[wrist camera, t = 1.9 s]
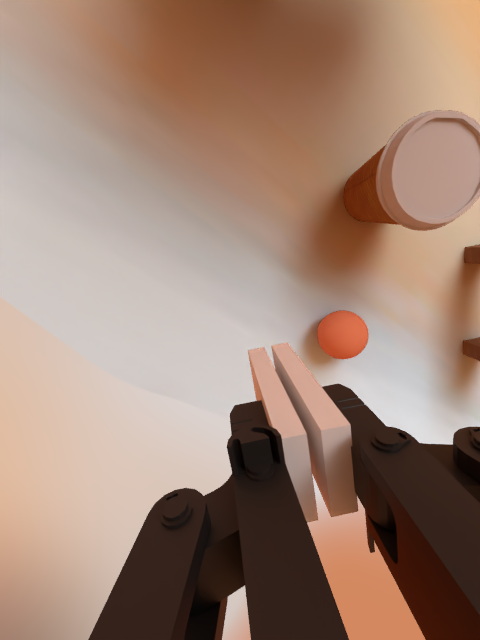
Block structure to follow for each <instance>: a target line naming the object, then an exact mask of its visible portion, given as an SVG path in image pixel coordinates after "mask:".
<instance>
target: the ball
mask: <svg viewBox="0 0 480 640" xmlns="http://www.w3.org/2000/svg"><path fill="white" fill-rule="evenodd" d="M317 338H318V342H319V344H320V346H321V348H322V349H323V350H324V351H325V352H326V353H327V354H328V355H330V356H332V357H334V358H338V359H348V358H352V357H355V356H356V355H358V354H359V353H361V352H362V350H363V349H364V348H365V346H366V344H367V341H368V329H367V326H366V324H365V322H364V321H363V320H362V319H361V318H360V317H359V316H358V315H356V314H355V313H352V312H349V311H336V312H333V313H330V314H329V315H327V316H326V317H325V318H324V319H323V320H322V321H321V323H320V325H319V327H318V331H317Z"/></svg>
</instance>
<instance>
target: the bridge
mask: <svg viewBox="0 0 480 640" xmlns="http://www.w3.org/2000/svg"><path fill="white" fill-rule="evenodd" d="M465 263H478V264H480V245H475V246H470V247H465ZM463 354H465V355H467V356H469V357H472V358H474V359H476V360H479V361H480V338H475V339H469V340H464V341H463Z"/></svg>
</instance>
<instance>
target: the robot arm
mask: <svg viewBox="0 0 480 640" xmlns="http://www.w3.org/2000/svg"><path fill="white" fill-rule="evenodd" d="M272 351H273V358H274V364H275V369H274V367H273V365H272V363H271V361H270V358H269V356H268V354H267V352H266V350H265V348H264V347H262V348H257V349H252V350H248V354H249V360H250V365H251V371H252V377H253V382H254V388H255V394H256V399H257V401H255V402H250V403H245V404H240V405H235V406H234V408H233V409H232V411H231V413H230V422H231V431H232V436H231V437H230V439H229V440H228V444H227V449H228V454H229V459H230V463H231V468H232V475H231V476H230V478H229V479H228V481H227V482H226V483H224V485H222V486H221V487H220V488H218V489H216V490H215V491H213V492H211V493H209V494H207V495H205V496H203V495H202V494H201V493H200V492H198V491H197V490H195V489H189V488H184V489H178V490H174V491H172V492H170V493H168V494H166V495H164V496H163V497H162V498H161V499H160V500H159V501H157V502H156V503H155V505H154V506H153V508H152V509H151V510H150V512H149V514H148V516H147V518H146V520H145V522H144V524H143V526H142V528H141V530H140V532H139V535H138V537H137V539H136V541H135V543H134V545H133V548H132V549H131V551H130V554H129V556H128V558H127V560H126V562H125V564H124V566H123V568H122V570H121V572H120V575H119V577H118V579H117V581H116V583H115V585H114V587H113V589H112V591H111V593H110V596H109V598H108V600H107V602H106V604H105V606H104V608H103V610H102V613H101V614H100V617H99V619H98V621H97V623H96V625H95V627H94V629H93V631H92V634H91V635H90V638H89V640H222V634H223V627H224V620H225V613H226V606H227V597H228V596H229V595H231V594H232V593H234V592H235V591H237V590H238V589H240V588H241V587H243V586H244V585H245V587H246V597H247V606H248V615H249V624H250V633H251V640H349V639H348V635H347V633H346V630H345V627H344V624H343V622H342V619H341V616H340V613H339V610H338V608H337V605H336V602H335V599H334V597H333V594H332V591H331V588H330V586H329V583H328V580H327V578H326V574H325V572H324V569H323V566H322V563H321V561H320V558H319V555H318V552H317V549H316V547H315V544H314V541H313V538H312V536H311V533H310V530H309V527H308V525H307V522H311V521H315V520H318V516H317V508H316V500H315V493H314V485H313V478H312V474H313V476H314V478H315V480H316V483H317V485H318V488H319V490H320V492H321V495H322V497H323V499H324V502H325V504H326V506H327V508H328V511H329V513H330V515H331V517H334V516H339V515H343V514H348V513H353V512H357V511H358V504H357V496H358V498H359V499H360V501H361V503H362V505H363V507H364V508H365V514H366V526H367V538H368V545H369V549H370V552H371V553H372V552H375V550H374V541H375V543H376V545H377V546H378V549H379V550H380V552H381V554H382V556H383V558H384V560H385V562H386V564H387V566H388V568H389V570H390V572H391V574H392V575H393V577H394V579H395V581H396V583H397V585H398V587H399V589H400V591H401V593H402V595H403V597H404V599H405V600H406V602H407V604H408V606H409V608H410V610H411V612H412V614H413V616H414V618H415V620H416V621H417V624H418V625H419V627H420V629H421V631H422V633H423V635H424V637H425V639H426V640H480V427H466V428H462V429H459V430H458V431H457V432H455V433H454V438H453V445H444V444H423V443H419V442H418V441H417V440H416V439H415V438H414V437H412V436H411V435H409V434H408V433H407V432H405V431H402V430H400V429H397V428H393V427H387V426H385V424H384V423H383V422H382V421H381V420H380V419H379V418H378V417H377V416H376V415H375V414H374V413H373V412H372V411H371V410H370V409H369V408H368V407H367V406H366V405H364V403H363V402H362V401H361V399H360V398H358V396H357V395H356V394H355V393H354V392H353V391H352V390H351V389H349V388H347V387H345V386H343V385H341V384H334V385H329V386H324V387H321V386H320V384H319V383H318V382H317V380H316V379H315V378H314V376H313V375H312V374H311V373H310V371H309V370H308V369H307V367H306V366H305V365H304V363H303V362H302V361H301V359H300V358H299V357H298V356H297V354H296V353H295V352H294V350H293V349H292V348H291V346H290V345H289V344H288V343H283V344H278V345H273V346H272Z"/></svg>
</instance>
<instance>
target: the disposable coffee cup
mask: <svg viewBox="0 0 480 640" xmlns="http://www.w3.org/2000/svg"><path fill="white" fill-rule="evenodd" d="M479 196H480V125H479V124H478V123H477V122H476V120H474V119H473V118H471V117H469V116H468V115H466V114H464V113H462V112H457V111H452V110H448V111H440V110H436V111H428V112H424V113H421V114H419V115H417V116H414V117H413V118H411V119H410V120H408V121H407V122H405V123H404V124H403V125H402V126H401V127H400V128H399V129H398V130H397V131H396V132H395V133H394V134H393V135H392V137H391V138H390V140H389V141H388V143H387V144H386V145H385V146H384V147H383V148H382V149H381V150H380V151H378V152H377V153H376V154H375V155H374V156H373V157H372V158H371V159H369V160H368V161H367V162H366V163H365V164H364V165H363V166H362V167H361V168H359V169H358V170H357V171H356V172H355V173H354V174H353V175H352V176H351V177H350V178H349V180H348V181H347V183H346V186H345V189H344V203H345V207H346V209H347V211H348V212H349V214H350V215H351V216H353V217H354V218H355V219H357V220H359V221H363V222H376V223H388V224H399V225H402V226H404V227H406V228H409V229H412V230H422V231H424V230H433V229H437V228H439V227H442V226H445V225H447V224H448V223H450V222H452V221H453V220H455V219H456V218H457V217H459V216H460V215H462V214H463V213H465V212H466V211H467V210H468V209H469V208H470V207H471V206H472V205H473V204H474V203H475V202H476V200H477V199H478V198H479Z"/></svg>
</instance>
